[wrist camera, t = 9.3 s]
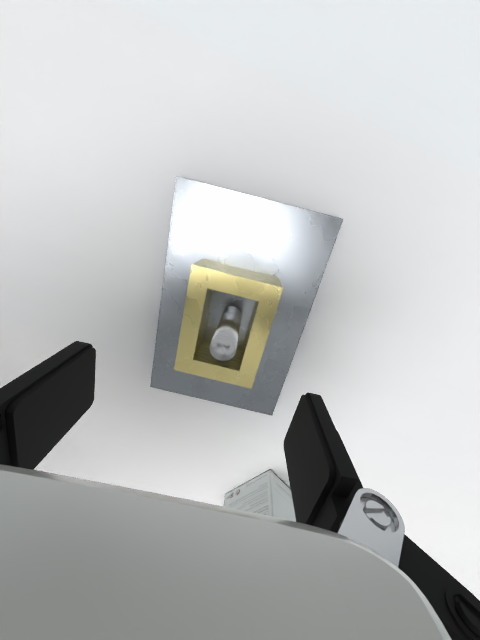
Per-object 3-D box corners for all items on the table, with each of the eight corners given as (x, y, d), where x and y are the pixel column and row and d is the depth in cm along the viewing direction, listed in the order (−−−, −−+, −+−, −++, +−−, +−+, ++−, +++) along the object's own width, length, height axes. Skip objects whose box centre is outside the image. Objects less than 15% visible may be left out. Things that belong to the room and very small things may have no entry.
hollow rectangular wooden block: (252, 364, 22) (251, 388, 18) (186, 348, 21) (174, 369, 18) (278, 277, 19) (283, 288, 15) (202, 258, 19) (191, 264, 15)
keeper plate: (271, 408, 24) (277, 474, 18) (154, 380, 24) (116, 437, 17) (338, 219, 18) (386, 213, 11) (180, 178, 18) (135, 148, 11)
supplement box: (309, 503, 29) (346, 692, 17) (260, 525, 31) (263, 709, 19) (271, 466, 27) (282, 649, 15) (222, 492, 29) (199, 672, 17)
